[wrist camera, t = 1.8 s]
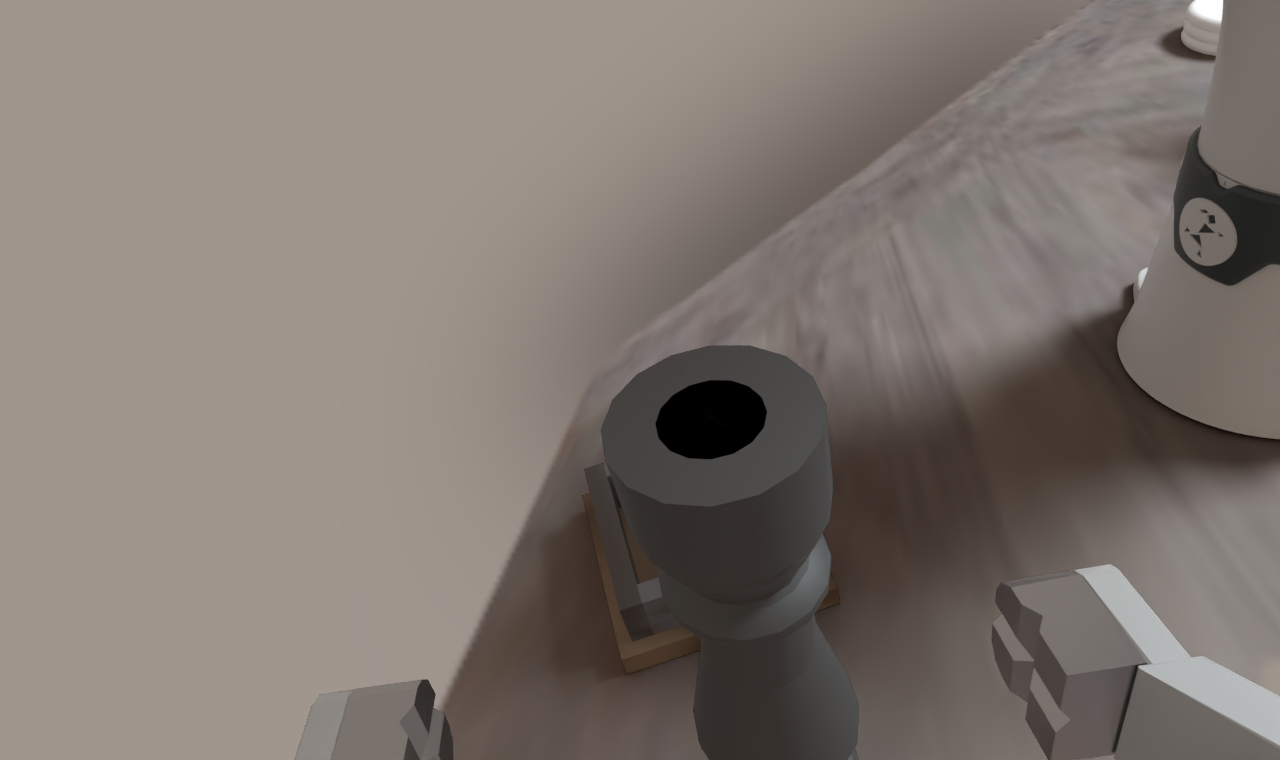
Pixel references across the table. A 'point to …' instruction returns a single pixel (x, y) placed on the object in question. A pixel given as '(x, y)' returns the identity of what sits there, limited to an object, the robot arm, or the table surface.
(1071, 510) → the table surface
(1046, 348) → the table surface
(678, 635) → the socket base
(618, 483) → the candle holder
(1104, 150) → the table surface
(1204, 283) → the robot arm
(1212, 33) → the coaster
